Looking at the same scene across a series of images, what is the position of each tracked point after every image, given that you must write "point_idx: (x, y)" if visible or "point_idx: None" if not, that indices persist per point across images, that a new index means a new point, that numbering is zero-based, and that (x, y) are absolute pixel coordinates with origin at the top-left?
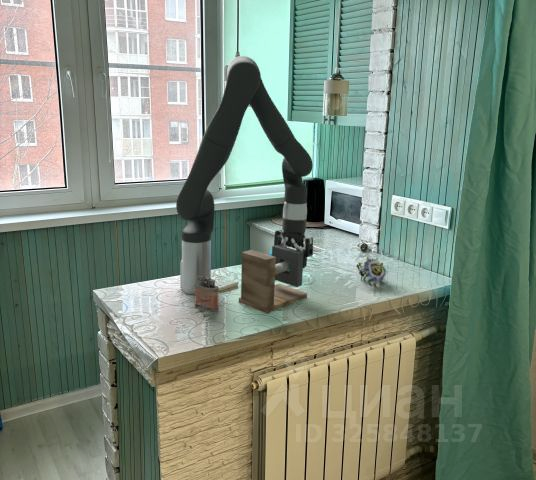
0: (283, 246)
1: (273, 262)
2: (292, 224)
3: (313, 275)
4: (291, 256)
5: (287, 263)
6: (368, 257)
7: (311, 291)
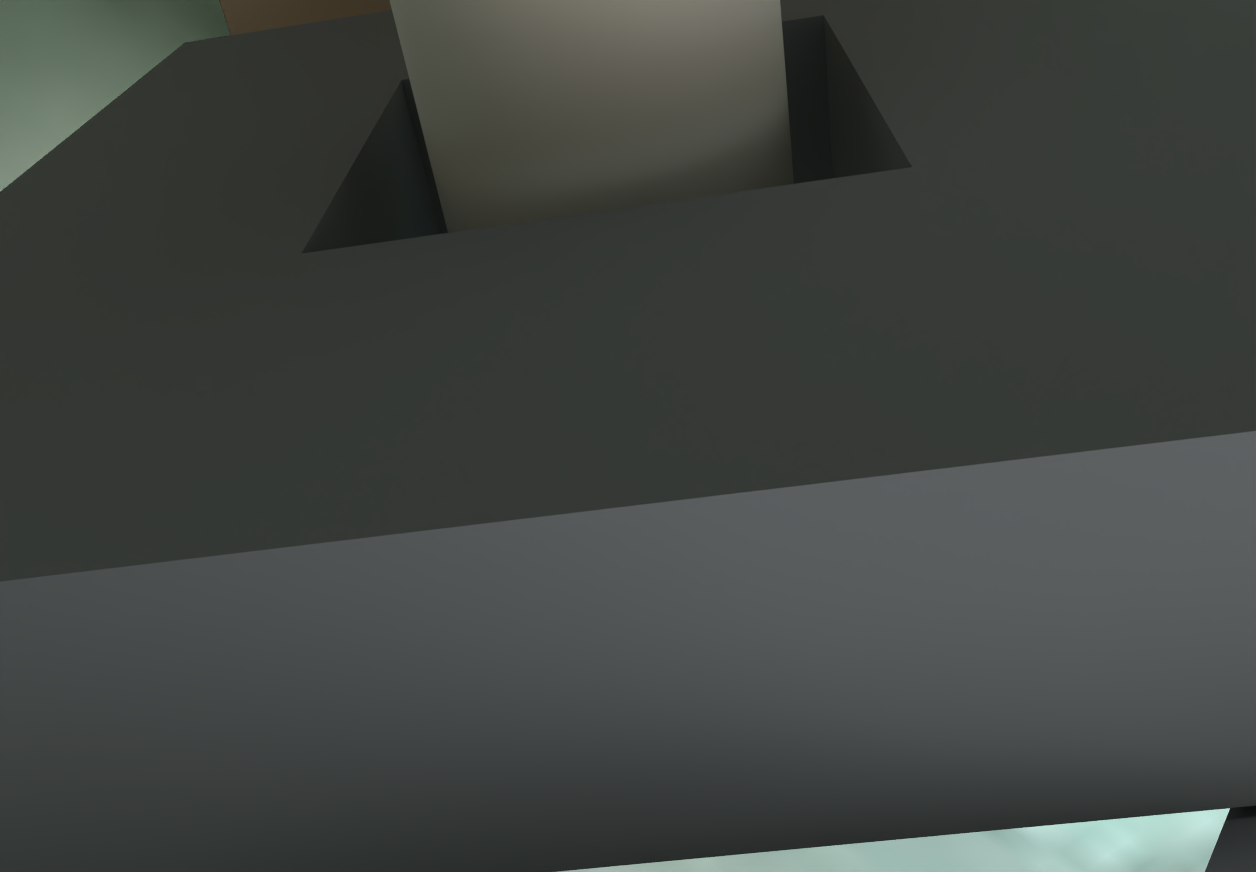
0: (1229, 840)
1: None
2: None
3: (968, 842)
4: (130, 402)
5: (485, 214)
6: None
7: None
